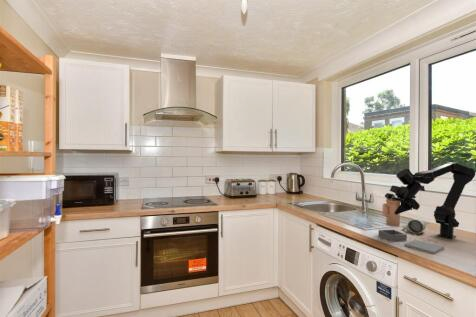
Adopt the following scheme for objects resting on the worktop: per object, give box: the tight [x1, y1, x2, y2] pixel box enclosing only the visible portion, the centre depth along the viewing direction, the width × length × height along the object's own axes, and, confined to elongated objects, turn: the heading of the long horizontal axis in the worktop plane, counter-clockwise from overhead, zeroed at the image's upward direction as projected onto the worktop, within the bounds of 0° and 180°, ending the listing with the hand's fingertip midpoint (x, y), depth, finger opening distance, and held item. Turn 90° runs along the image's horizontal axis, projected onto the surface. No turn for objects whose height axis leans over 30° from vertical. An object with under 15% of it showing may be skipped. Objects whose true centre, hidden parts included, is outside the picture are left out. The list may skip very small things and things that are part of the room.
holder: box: [378, 229, 408, 242], centre depth 136 cm, size 9×9×3 cm
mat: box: [403, 239, 445, 255], centre depth 123 cm, size 12×12×1 cm
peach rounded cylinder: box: [381, 198, 401, 228], centre depth 136 cm, size 8×7×13 cm
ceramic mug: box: [402, 218, 427, 234], centre depth 149 cm, size 11×8×8 cm
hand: (390, 212), depth 136 cm, fingers closed on peach rounded cylinder, 6 cm apart
